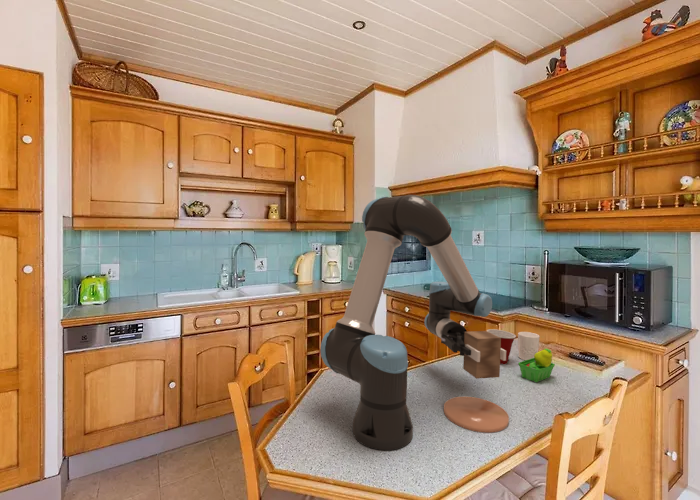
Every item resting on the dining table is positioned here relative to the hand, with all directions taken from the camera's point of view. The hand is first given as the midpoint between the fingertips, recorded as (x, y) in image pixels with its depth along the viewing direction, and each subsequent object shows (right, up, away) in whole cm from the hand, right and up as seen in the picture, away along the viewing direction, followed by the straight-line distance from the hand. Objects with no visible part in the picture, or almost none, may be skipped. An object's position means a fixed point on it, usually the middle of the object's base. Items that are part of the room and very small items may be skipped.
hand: (491, 356), depth 92 cm
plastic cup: (+22, -16, +45) cm, 52 cm away
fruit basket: (+29, -17, +30) cm, 45 cm away
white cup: (+35, -16, +49) cm, 63 cm away
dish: (-3, -17, +3) cm, 18 cm away
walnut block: (-1, -6, +5) cm, 8 cm away
